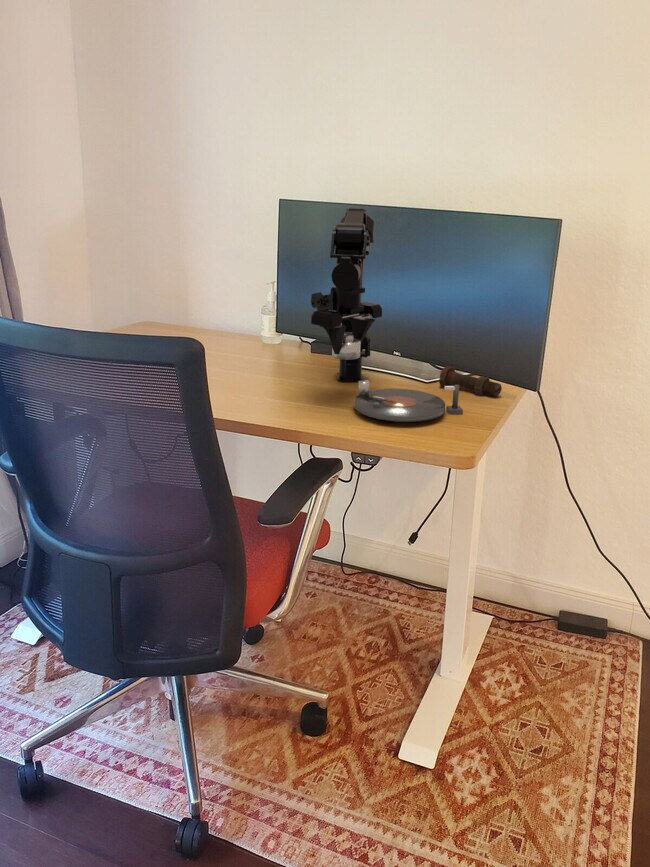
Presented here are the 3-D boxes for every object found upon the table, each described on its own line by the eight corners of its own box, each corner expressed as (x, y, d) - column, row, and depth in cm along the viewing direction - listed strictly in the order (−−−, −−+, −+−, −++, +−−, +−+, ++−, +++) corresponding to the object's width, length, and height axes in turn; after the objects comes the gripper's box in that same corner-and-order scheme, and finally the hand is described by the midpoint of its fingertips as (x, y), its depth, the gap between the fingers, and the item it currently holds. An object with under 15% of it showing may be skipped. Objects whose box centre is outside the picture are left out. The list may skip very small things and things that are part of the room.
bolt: (495, 406, 179) (441, 391, 188) (505, 392, 181) (451, 378, 190) (492, 388, 175) (437, 374, 184) (502, 374, 177) (447, 361, 186)
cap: (331, 352, 175) (331, 331, 174) (358, 352, 176) (359, 331, 174) (333, 359, 169) (333, 337, 168) (361, 359, 170) (362, 337, 168)
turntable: (458, 403, 170) (460, 384, 168) (422, 428, 154) (424, 407, 152) (378, 388, 179) (379, 370, 178) (336, 410, 163) (337, 391, 162)
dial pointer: (441, 410, 169) (443, 383, 167) (459, 410, 169) (461, 383, 167) (444, 414, 166) (446, 387, 164) (462, 414, 167) (465, 387, 164)
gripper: (347, 275, 179) (345, 339, 184) (293, 282, 165) (292, 352, 171) (385, 280, 172) (381, 347, 177) (331, 289, 158) (329, 361, 164)
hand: (346, 351), depth 172 cm, fingers closed on cap, 6 cm apart
